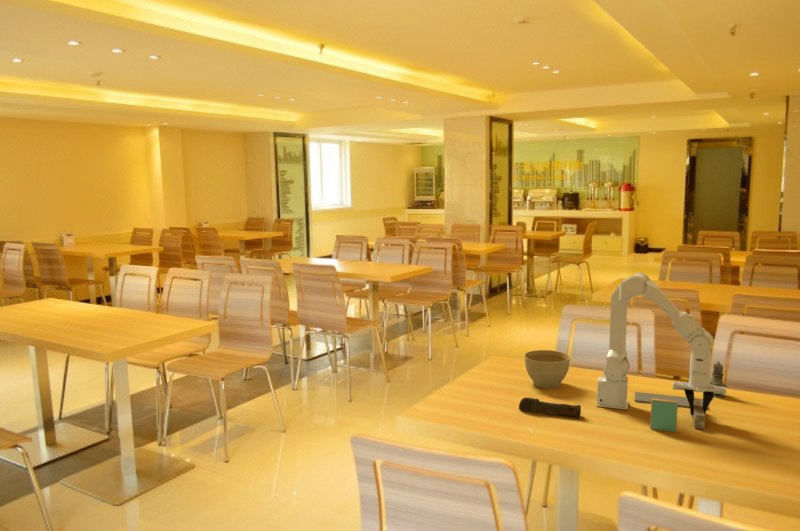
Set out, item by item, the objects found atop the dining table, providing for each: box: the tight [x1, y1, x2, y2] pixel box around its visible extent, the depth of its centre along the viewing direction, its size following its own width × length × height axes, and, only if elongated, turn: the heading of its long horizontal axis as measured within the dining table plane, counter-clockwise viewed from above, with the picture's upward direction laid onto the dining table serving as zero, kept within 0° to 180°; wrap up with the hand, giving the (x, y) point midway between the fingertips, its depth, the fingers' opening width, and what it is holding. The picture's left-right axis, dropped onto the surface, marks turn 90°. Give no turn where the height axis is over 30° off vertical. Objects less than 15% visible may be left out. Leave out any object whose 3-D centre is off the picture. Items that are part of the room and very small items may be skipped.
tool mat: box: [634, 391, 709, 411], centre depth 203 cm, size 22×9×1 cm, turn 69°
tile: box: [649, 398, 678, 433], centre depth 178 cm, size 7×2×9 cm, turn 69°
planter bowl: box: [523, 349, 571, 389], centre depth 220 cm, size 16×16×11 cm
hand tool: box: [518, 397, 582, 420], centre depth 192 cm, size 19×4×5 cm, turn 68°
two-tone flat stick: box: [691, 397, 706, 430], centre depth 186 cm, size 2×16×4 cm, turn 158°
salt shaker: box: [710, 361, 728, 399], centre depth 208 cm, size 6×6×12 cm
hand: (697, 414), depth 186 cm, fingers closed on two-tone flat stick, 2 cm apart
